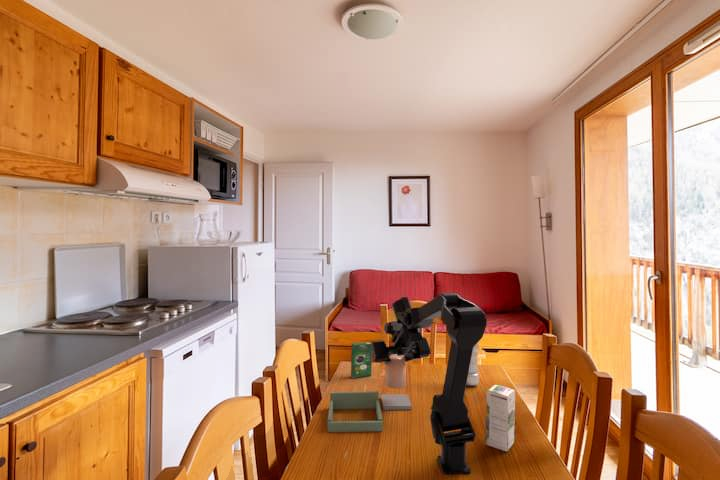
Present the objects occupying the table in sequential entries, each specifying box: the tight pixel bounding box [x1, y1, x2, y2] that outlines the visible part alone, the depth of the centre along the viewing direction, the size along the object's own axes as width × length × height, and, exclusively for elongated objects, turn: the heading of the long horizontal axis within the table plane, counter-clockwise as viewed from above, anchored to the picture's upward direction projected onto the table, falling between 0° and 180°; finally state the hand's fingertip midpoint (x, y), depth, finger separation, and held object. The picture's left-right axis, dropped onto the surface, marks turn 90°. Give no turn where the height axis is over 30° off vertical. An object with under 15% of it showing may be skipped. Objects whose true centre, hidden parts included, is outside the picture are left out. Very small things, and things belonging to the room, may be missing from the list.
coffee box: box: [350, 341, 373, 379], centre depth 150 cm, size 8×3×13 cm, turn 113°
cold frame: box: [327, 391, 384, 433], centre depth 114 cm, size 16×16×5 cm
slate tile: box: [380, 393, 413, 411], centre depth 125 cm, size 9×9×1 cm
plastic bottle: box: [466, 342, 480, 387], centre depth 141 cm, size 6×7×20 cm
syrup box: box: [485, 384, 516, 452], centre depth 100 cm, size 6×6×14 cm
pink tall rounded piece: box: [385, 354, 407, 390], centre depth 124 cm, size 6×6×9 cm
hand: (394, 362), depth 126 cm, fingers closed on pink tall rounded piece, 6 cm apart
